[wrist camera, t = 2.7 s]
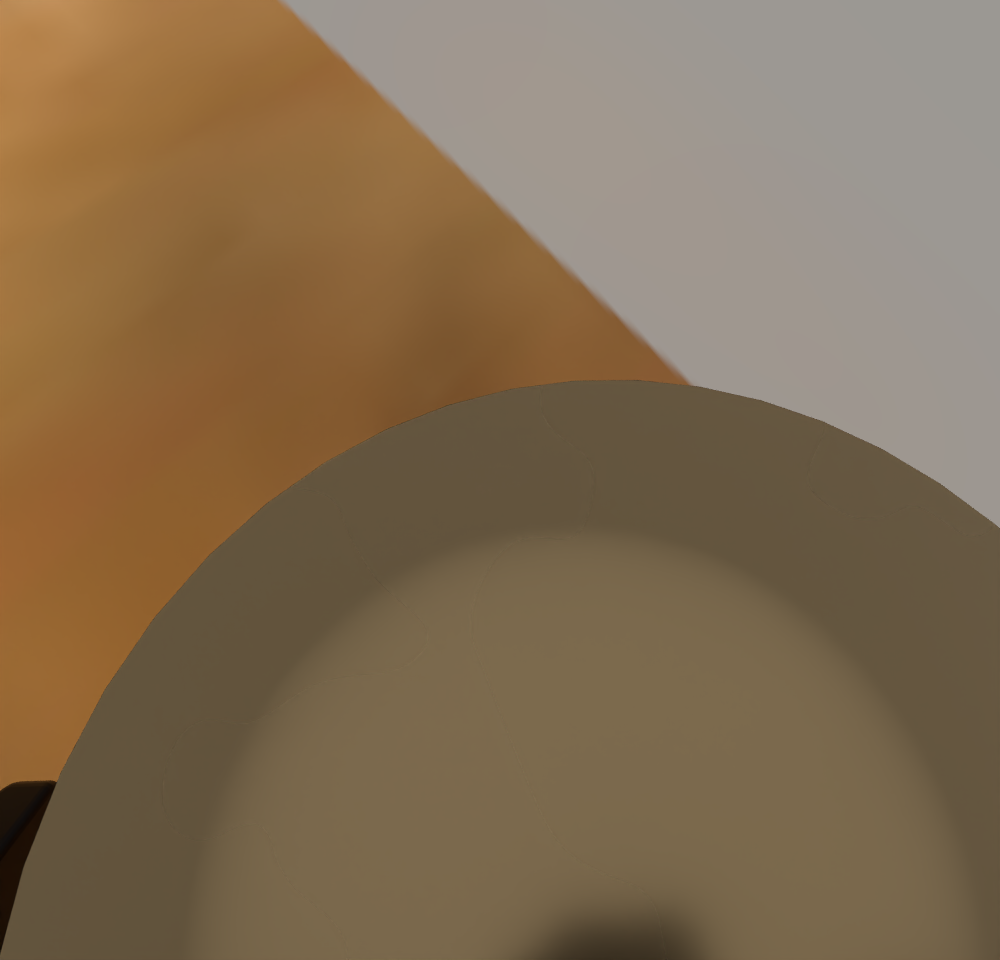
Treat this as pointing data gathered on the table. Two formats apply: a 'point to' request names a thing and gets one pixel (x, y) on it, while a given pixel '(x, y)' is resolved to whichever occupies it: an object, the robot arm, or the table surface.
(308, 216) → the table surface
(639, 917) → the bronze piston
